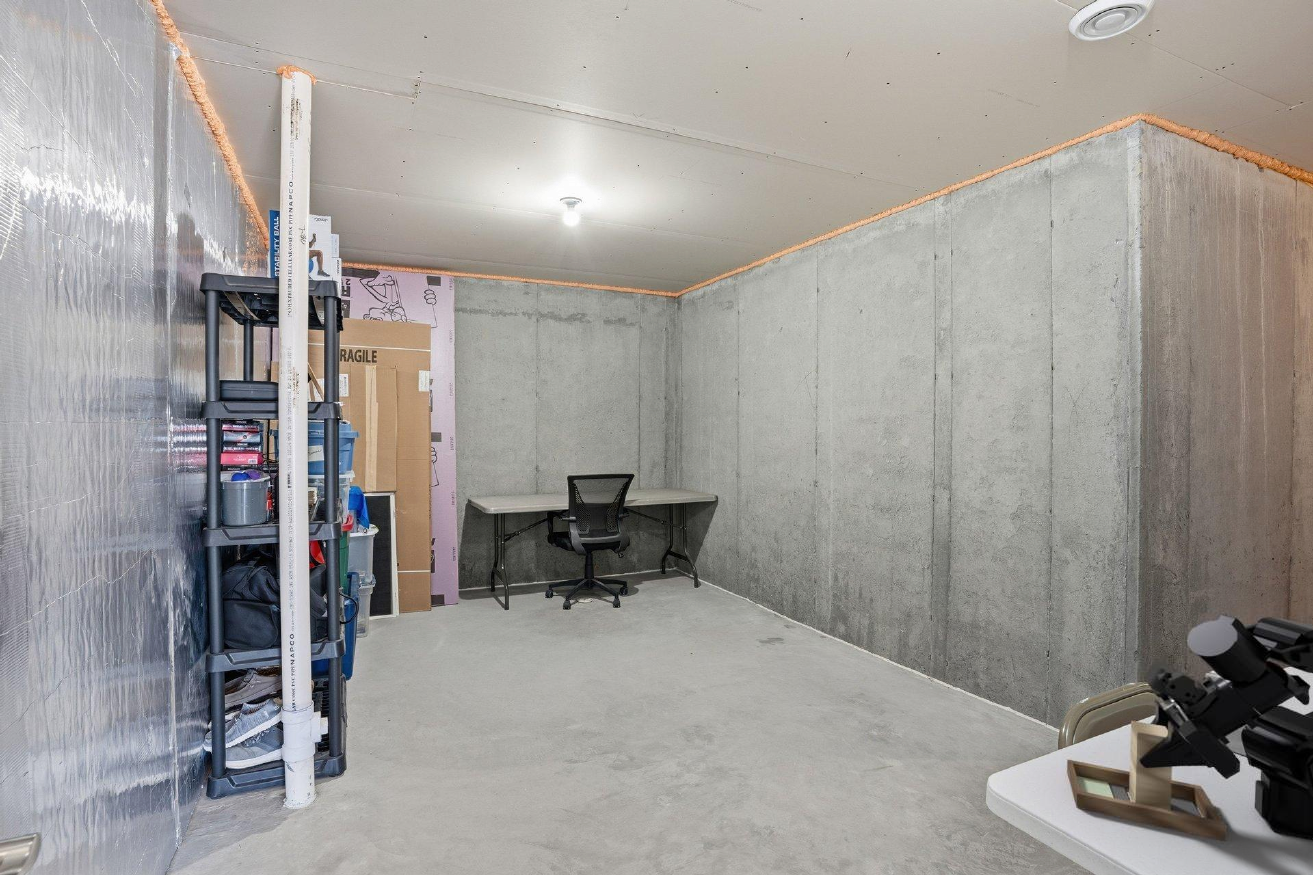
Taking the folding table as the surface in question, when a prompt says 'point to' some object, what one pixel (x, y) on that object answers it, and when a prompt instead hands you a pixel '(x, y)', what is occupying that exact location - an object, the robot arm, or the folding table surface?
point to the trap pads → (1176, 802)
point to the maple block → (1148, 782)
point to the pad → (1094, 786)
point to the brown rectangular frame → (1197, 825)
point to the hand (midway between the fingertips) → (1138, 757)
